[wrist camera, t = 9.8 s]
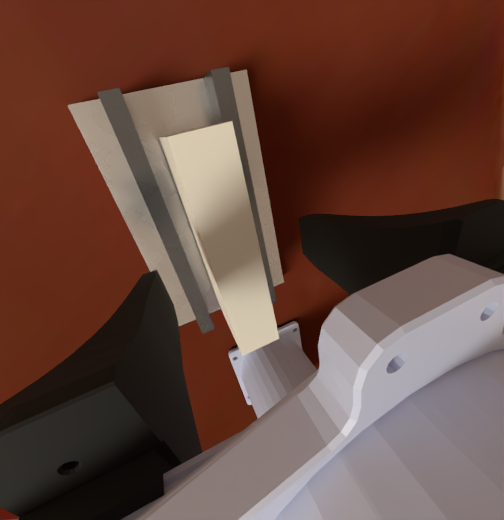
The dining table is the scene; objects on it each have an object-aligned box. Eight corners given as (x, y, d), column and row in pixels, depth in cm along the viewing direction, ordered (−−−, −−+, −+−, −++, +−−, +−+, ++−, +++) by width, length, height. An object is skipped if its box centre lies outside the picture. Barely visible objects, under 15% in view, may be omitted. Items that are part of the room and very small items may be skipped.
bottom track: (278, 277, 24) (294, 293, 21) (176, 319, 22) (180, 343, 19) (241, 73, 16) (259, 60, 13) (72, 107, 14) (55, 100, 11)
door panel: (242, 283, 21) (279, 338, 15) (214, 294, 21) (242, 355, 15) (198, 127, 15) (232, 120, 9) (158, 137, 15) (166, 137, 9)
